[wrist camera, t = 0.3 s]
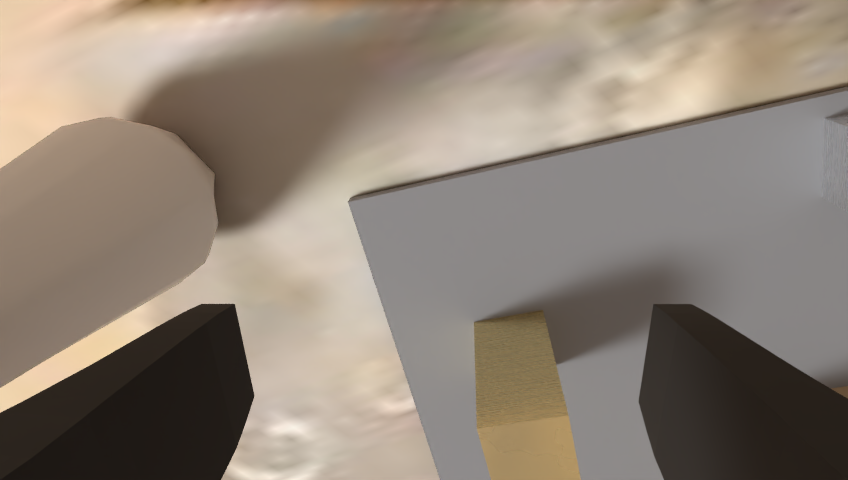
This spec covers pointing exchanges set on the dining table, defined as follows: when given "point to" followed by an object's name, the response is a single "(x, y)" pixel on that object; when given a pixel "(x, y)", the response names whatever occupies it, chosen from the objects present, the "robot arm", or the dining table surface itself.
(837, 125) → the steel post
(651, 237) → the slate mat
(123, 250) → the salt shaker
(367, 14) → the dining table surface
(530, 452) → the brass post
